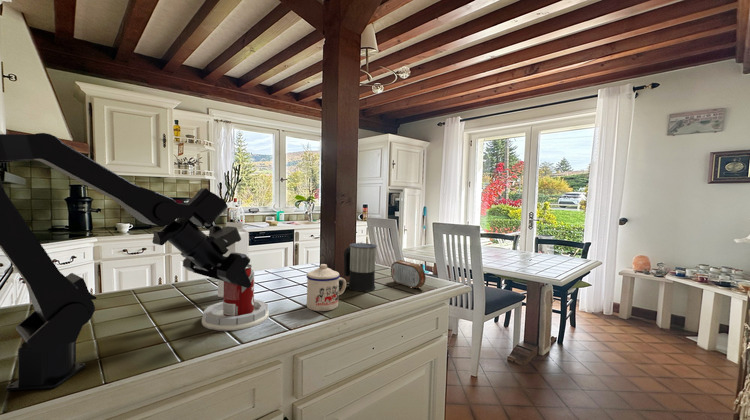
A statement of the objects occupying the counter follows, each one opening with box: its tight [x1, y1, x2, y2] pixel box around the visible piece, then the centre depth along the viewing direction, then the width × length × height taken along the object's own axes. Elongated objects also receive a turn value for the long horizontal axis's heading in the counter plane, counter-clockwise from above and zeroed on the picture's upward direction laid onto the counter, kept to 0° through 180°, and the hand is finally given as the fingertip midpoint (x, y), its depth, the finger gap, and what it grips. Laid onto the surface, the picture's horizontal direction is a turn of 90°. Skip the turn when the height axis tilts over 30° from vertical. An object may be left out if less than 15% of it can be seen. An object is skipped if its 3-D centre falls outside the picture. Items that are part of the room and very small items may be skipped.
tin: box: [390, 259, 426, 289], centre depth 112 cm, size 15×3×8 cm, turn 40°
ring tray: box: [201, 298, 270, 332], centre depth 77 cm, size 15×15×2 cm
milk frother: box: [338, 242, 378, 292], centre depth 105 cm, size 14×16×15 cm
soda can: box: [222, 263, 255, 316], centre depth 76 cm, size 7×7×12 cm
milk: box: [217, 221, 250, 299], centre depth 95 cm, size 6×6×22 cm
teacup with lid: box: [306, 263, 347, 312], centre depth 88 cm, size 12×9×12 cm
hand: (238, 283), depth 77 cm, fingers open, 9 cm apart
